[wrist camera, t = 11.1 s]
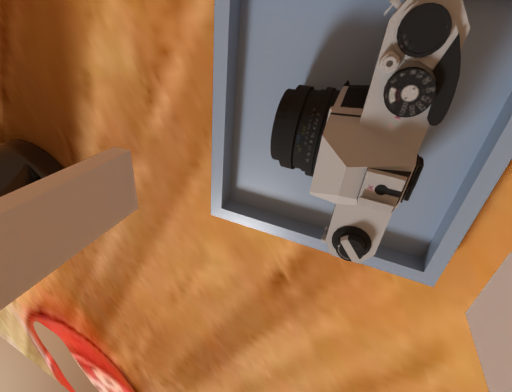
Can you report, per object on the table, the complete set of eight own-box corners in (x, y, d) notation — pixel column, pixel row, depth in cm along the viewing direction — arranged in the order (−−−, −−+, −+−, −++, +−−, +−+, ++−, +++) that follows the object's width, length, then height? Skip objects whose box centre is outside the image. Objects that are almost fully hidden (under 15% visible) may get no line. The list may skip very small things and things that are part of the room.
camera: (307, -10, 17) (241, -14, 10) (461, -6, 14) (513, -7, 8) (288, 181, 24) (242, 254, 17) (387, 204, 22) (379, 299, 15)
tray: (223, 201, 28) (210, 214, 26) (233, -41, 18) (215, -49, 16) (429, 265, 23) (433, 286, 21) (590, -19, 13) (624, -28, 11)
